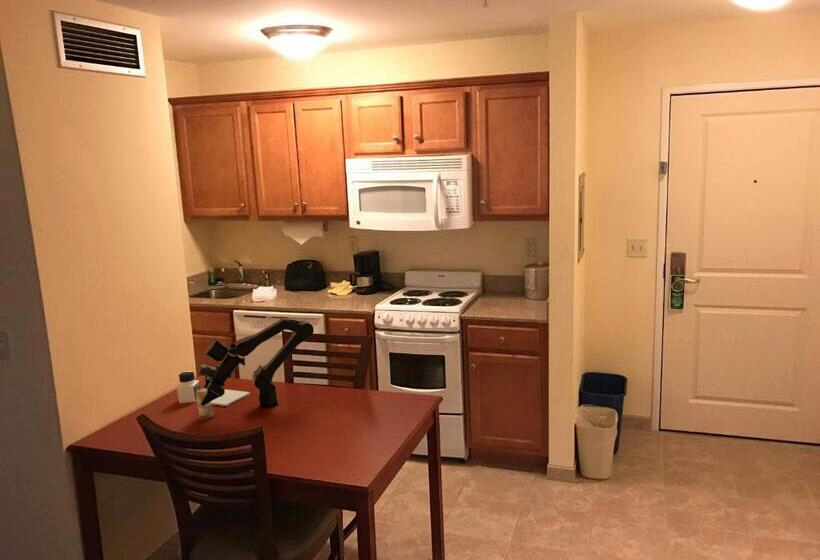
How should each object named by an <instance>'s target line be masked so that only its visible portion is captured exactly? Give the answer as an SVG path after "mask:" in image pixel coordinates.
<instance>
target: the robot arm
mask: <svg viewBox="0 0 820 560" xmlns="http://www.w3.org/2000/svg"><path fill="white" fill-rule="evenodd" d="M286 330H287V331H290V332H292V333H291V335H290V337H289V338H288V339H287V340H286V341H285V343H284V344H283V345H282V346H281V348H280V349H279V350H277V352H276V353H275V354H274V356H273V357H271V359H270V360H269V362H268V363H267V364H265V365H263V366H262V365H261V364H259V365H258V366H257V368H256V369H255V370H254V371H253V374H252V376H251V378H252V382H253V384H254V386H255V388H256V389H258V394H257V396H258V404H259V406H260V407H261V409H265V408H270V407H276V406H279V402H278V396H277V389H276V388H277V386H276V385H275V383H274V381H273V378H274V375H275V373H276V372H277V370H278V369H279V368H280V367H281V366H282V364H283V363H284V362H285V361H286V360H287V359H288V357H290V355H291V354H292V353H293V352H294V350H296V348H297V347H298V346H299V345H300V344H302V343H303V342H305V341H307V340H308V339H309V338H311V337H312V336H313V334H314V331H315V330H314V326H313V324H312V323H310V322H309V321H308V320H305V319H302V320H296V319H291V318H286V317H282V318H280V319H279V320H277V321H276V322H274V323H272V324H271V325H269V326H267V327H265V328H263V329H261V330H260V331H258V332H257V333H255V334H252V335H249V336H245V337H242V338H239V339H238V340H237V339H236V341H235V342H234V343H231V344H228V345H225V344H223V343H222V342H220V340H218V339H215V340H214V341H213V342H211V344H209V345H208V346H207V348H206V349H205V350H204V354H205V355H206V356H208V357H209V358H211V359H212V360H214V361H215V362H220V364H217V365H216V366H211V365H208V364H207V365H206V364H205V363H204V364H202V363H201V364H200V365H199V368H198V375H199V376H205V377H204V382H205V384H204V387H203V388H202V389H204V388H207V393H206V395H205V397H204V399H203V401H202V403H201V405H203V406H204V405H205V404H207V403H209V402H211V401H213V400H214V399H216V398H218V397H222V396H223V395H224V393H225V388H224V387H225V385H226V384H225V383H226V382H227V381H228V379H231V378H232V376H233V373H234V372H235V370H237V368H238V367H239V365H240V364H241V365H242V366H243V367H244V366H246V362H245V361H246V358H245V357H247V356H249V355H250V354H251V353H253V352H254V351H255V350H256V348H258V347H259V346H260V345H262V344H263V343H264V342H266V341H267V340H270V339H271V338H273V337H275V336H277V335H278V334H280V333H281V332H284V331H286Z"/></svg>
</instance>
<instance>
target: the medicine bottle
mask: <svg viewBox="0 0 820 560" xmlns="http://www.w3.org/2000/svg"><path fill="white" fill-rule="evenodd" d="M178 379H179V385H178V386H177V387H176V391H177V397H178V402H179V404H188V402H189V403H197V397H196V391H197V390H200V389H201V386H200V380H198V379H197V380H196V375H195V372H194V371H192V370H188V371H183V372H181V373H180V374H179V375H178Z"/></svg>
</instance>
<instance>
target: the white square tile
mask: <svg viewBox="0 0 820 560" xmlns="http://www.w3.org/2000/svg"><path fill="white" fill-rule="evenodd" d="M224 390H225V393H224V395H223V396H222V397H218V398H216V399H214V400H213V401H211V404H213V405H212V406H215V405H221V406H220V407H223V406H227V407H229V406H231V405H232V404H231V403H233V402H235V401H237V400H239V399H241V398H243V397H245V396H246V397H248V396H250V395H251V392H249V391H242V390H234V389H227V388H226V389H225V388H224ZM249 394H250V395H249ZM247 395H248V396H247ZM246 397H245V398H246ZM243 399H244V398H243ZM241 400H242V399H241ZM239 401H240V400H239ZM237 402H238V401H237ZM235 403H236V402H235ZM230 404H231V405H230ZM233 404H234V403H233ZM228 405H229V406H228Z"/></svg>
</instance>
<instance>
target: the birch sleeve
mask: <svg viewBox="0 0 820 560" xmlns="http://www.w3.org/2000/svg"><path fill="white" fill-rule="evenodd" d="M203 388H204V387H203ZM203 388H200V390H197V391H196V397H197V401H196V403H197V409H198V416H199V417H198V418H199V420H200V419H201V420H200V421H207V420H206V419H209V420H211V419H210V418H212V417H213V416H215V415H214V411H213V405H212V404H211V402H209V403H207V404H205V405H204V406H203V405H201V403H202V401H203V399H204V397H205V395H206V393H207V388H204V389H203ZM213 418H214V417H213ZM213 418H212V419H213Z"/></svg>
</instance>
